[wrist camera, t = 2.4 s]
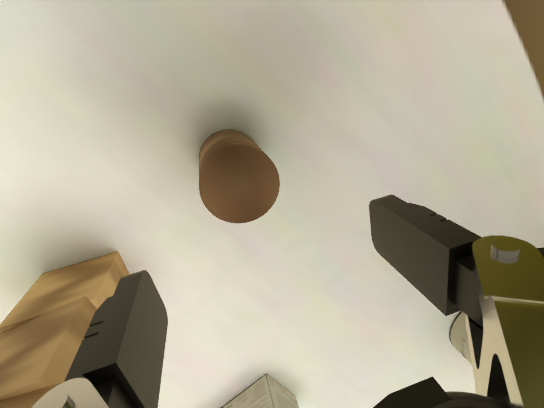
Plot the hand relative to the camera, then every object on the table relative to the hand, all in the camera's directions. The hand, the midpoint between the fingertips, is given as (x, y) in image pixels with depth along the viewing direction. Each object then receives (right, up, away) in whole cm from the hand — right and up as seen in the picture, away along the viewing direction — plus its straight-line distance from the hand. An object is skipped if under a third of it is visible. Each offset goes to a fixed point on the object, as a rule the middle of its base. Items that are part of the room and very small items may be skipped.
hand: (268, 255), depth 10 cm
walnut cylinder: (-3, +5, +14) cm, 15 cm away
